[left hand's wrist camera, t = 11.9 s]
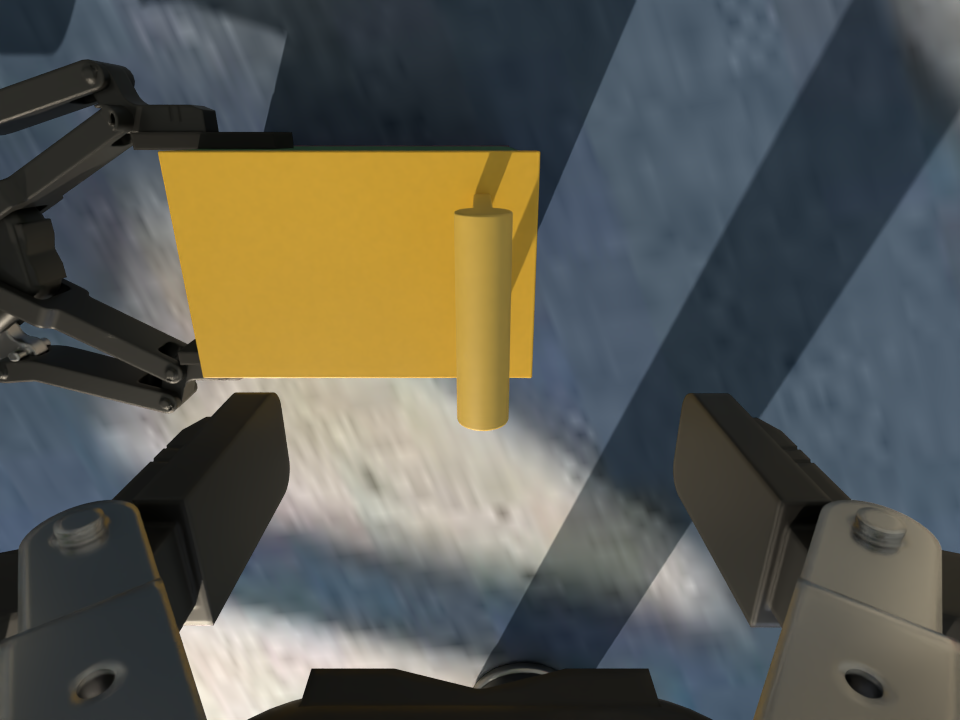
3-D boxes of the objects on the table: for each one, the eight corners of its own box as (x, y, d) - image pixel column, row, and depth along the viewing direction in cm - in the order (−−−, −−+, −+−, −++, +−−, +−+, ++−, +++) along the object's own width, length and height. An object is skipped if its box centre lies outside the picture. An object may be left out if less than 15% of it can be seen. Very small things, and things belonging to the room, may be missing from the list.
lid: (537, 150, 24) (569, 159, 15) (529, 369, 27) (551, 470, 19) (171, 150, 24) (5, 159, 15) (213, 369, 27) (98, 470, 19)
